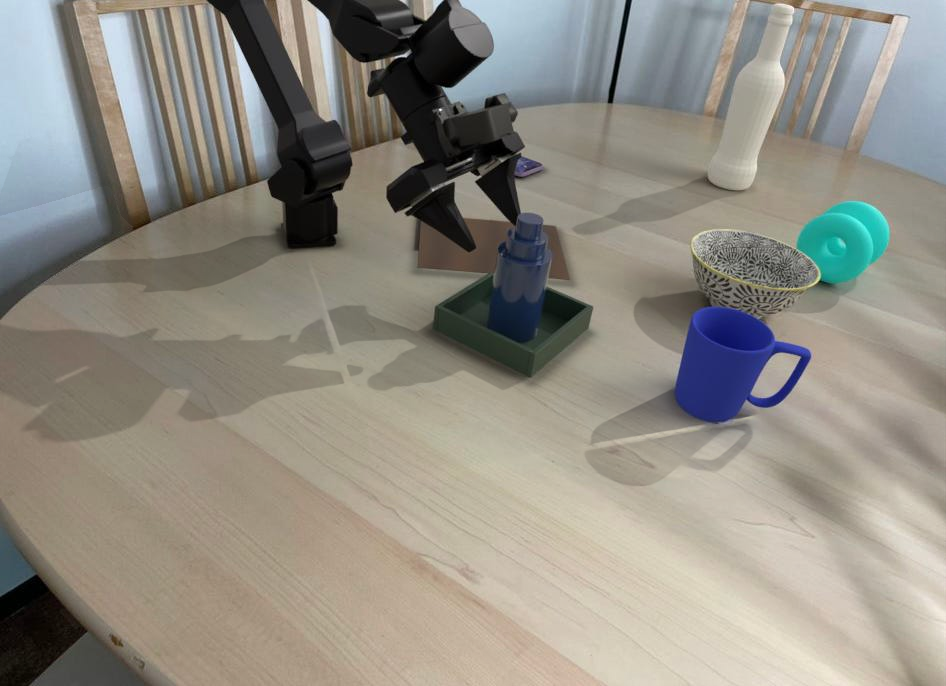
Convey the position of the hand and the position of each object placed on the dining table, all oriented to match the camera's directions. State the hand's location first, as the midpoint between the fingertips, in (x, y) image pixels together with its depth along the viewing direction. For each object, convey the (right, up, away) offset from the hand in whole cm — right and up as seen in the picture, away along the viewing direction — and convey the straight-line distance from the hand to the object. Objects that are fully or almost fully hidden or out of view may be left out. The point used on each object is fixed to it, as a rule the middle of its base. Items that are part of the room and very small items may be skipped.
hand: (496, 236), depth 82 cm
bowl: (+32, -7, +15) cm, 36 cm away
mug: (+24, -19, -3) cm, 31 cm away
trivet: (0, +1, +21) cm, 21 cm away
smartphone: (+2, +20, +49) cm, 53 cm away
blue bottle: (+2, -10, +4) cm, 11 cm away
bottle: (+43, +17, +53) cm, 70 cm away
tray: (+2, -10, +5) cm, 12 cm away
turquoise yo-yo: (+49, -1, +27) cm, 56 cm away
